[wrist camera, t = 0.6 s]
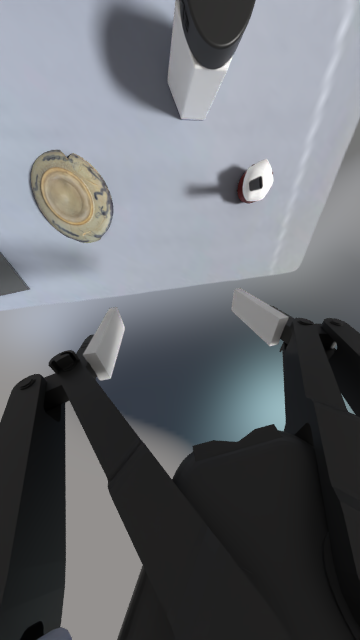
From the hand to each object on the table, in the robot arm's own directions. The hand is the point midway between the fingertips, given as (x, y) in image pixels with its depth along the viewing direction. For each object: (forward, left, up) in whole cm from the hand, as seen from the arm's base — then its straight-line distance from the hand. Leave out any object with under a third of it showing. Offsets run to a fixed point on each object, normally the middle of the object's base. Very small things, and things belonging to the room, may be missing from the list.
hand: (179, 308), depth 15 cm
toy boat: (-13, +23, -27) cm, 38 cm away
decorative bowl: (-16, -15, -28) cm, 35 cm away
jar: (-28, +12, -27) cm, 41 cm away
